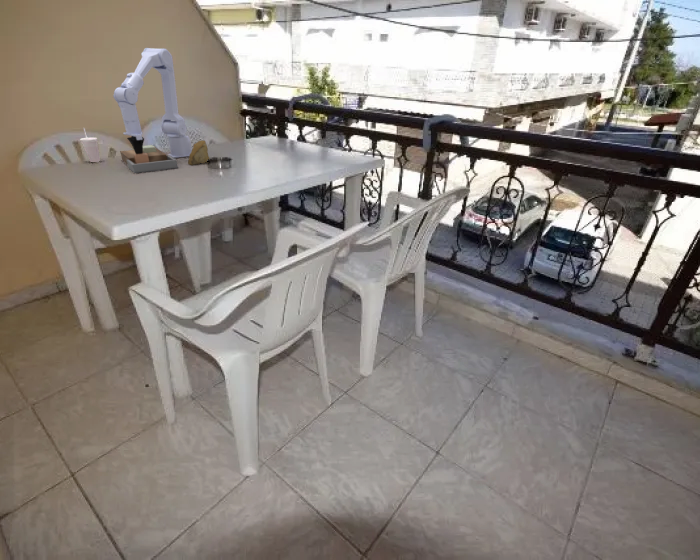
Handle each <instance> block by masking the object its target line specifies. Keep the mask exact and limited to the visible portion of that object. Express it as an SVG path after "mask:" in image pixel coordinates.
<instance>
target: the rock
mask: <svg viewBox="0 0 700 560" xmlns="http://www.w3.org/2000/svg"><path fill="white" fill-rule="evenodd" d="M208 151H209V150H208V146H207V143H206V140H198V141H197V142H196V143H194V144H193V146H192V152H191V153H190V155H189V156H188V161H187V164H188V165H189V166H193V165H200V163H202V164H206V163H208V162H207V160H208V159H209V160H210V156H209V152H208ZM205 162H206V163H205Z"/></svg>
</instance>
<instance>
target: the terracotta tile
mask: <svg viewBox="0 0 700 560" xmlns="http://www.w3.org/2000/svg"><path fill="white" fill-rule="evenodd" d="M133 155H134V159H135V163H136V164H139V163H148V162H149V158H148V154H147V153H142V154H133Z"/></svg>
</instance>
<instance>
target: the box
mask: <svg viewBox="0 0 700 560" xmlns="http://www.w3.org/2000/svg"><path fill="white" fill-rule="evenodd" d="M127 164H128V165H127ZM127 164H126V165H127V168H128V169H129V170H130V171H131V172H132V173H133V172H134V173H136V174H141V173H142V172H144V173H150V171H152V172H160V171H167V170H175V169H178V168H179V167H178V160H177V159H176V158H173V157H171V156H169V155H167V160H166V161H157V162H148V163H139V164H134V163H133V162H131V161H130V160H127ZM134 173H133V174H134ZM142 174H143V173H142Z"/></svg>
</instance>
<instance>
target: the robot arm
mask: <svg viewBox="0 0 700 560" xmlns="http://www.w3.org/2000/svg"><path fill="white" fill-rule="evenodd" d="M151 69H154V70H156V71H157V72H158V73H159V74H160V75H161V76H160V77H161V84H162V93H163V94H162V95H163V103H164V112H165V113H164V114H163V116H162V117H161V131H162V133H164V134H165V136H166V138H167V142H168V145H169V147H168V148H169V151H170V153H168V155H169V156H171V157H173V158H174V159H176V158H186V157H189V155H190V153H191V152H192V149H193V146H192V142H191V138H190V136H189V135H187V131H188V129H187V124H186V122H185V118H183V116H182V115H180V114H179V105H178V97H177V96H178V95H177V86H176V78H175V77H176V76H175V69H174V61H173V55H172V54H171V52H170V51H169V50H168V49H167V48H156V47H155V48H153V47H150V48H149V47H145V48H144V49H143V51H142V52H141V58H140V61H139V63H138V64H137V66H136V68H135V70H134V72H129V73H128V72H127V74H126V77H125V79H124V81H123V82H121V84H120V86H119V87H116V88H115V90H114V92H113V97H112V98H114V100H115V102H116V103H117V105H118V107H119V109H120V112H121V117H122V120H123V121H122V122H123V125H124V127H125V128H124V130H125V132H122V134H123V135H124V136H129V137H127V141H129V143H130V145H131V146H132V148H133V150H134V151H135V153H136V154H142V153H143V146H144V141H145V138H144V137H143V135H144V132H143V130H142V127H141V122H140V117H139V113H138V109H137V104H136V103H137V102H138V99H139V97H138V95H139V92H140V91H141V89H142V87H143V85H144V78H145V77H146V75H147V74H148V73H149V72H150V70H151ZM130 136H131V137H130ZM168 155H167V156H168Z"/></svg>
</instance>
